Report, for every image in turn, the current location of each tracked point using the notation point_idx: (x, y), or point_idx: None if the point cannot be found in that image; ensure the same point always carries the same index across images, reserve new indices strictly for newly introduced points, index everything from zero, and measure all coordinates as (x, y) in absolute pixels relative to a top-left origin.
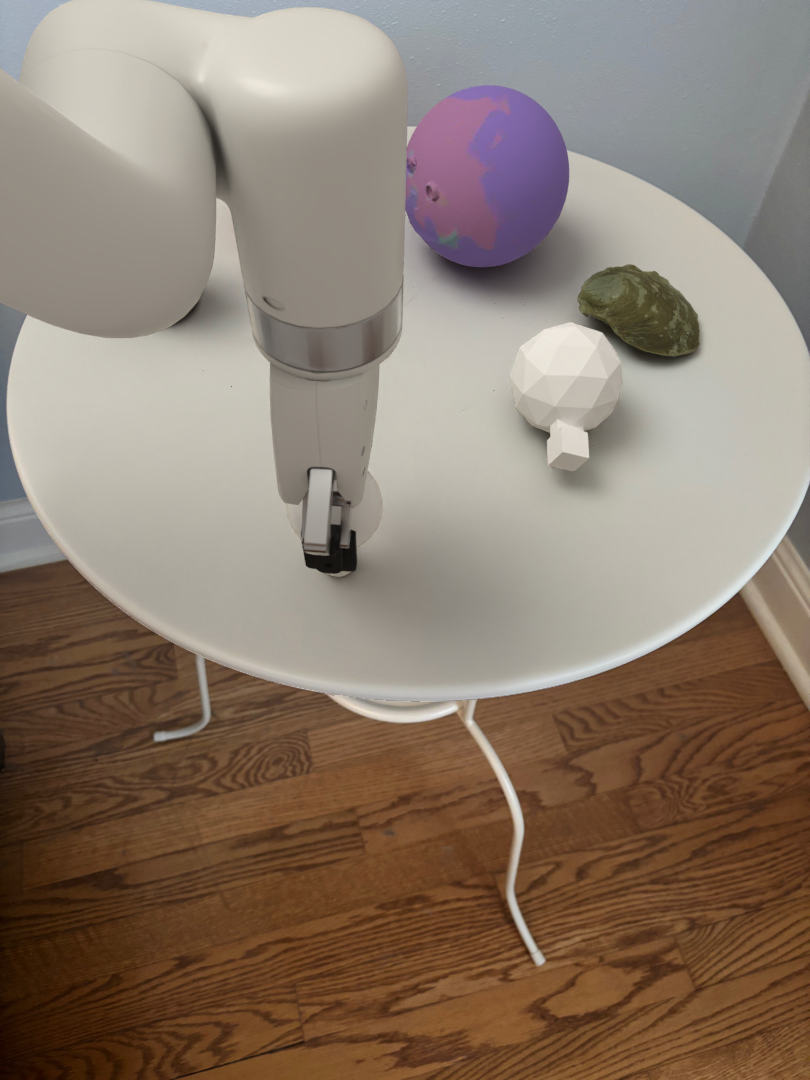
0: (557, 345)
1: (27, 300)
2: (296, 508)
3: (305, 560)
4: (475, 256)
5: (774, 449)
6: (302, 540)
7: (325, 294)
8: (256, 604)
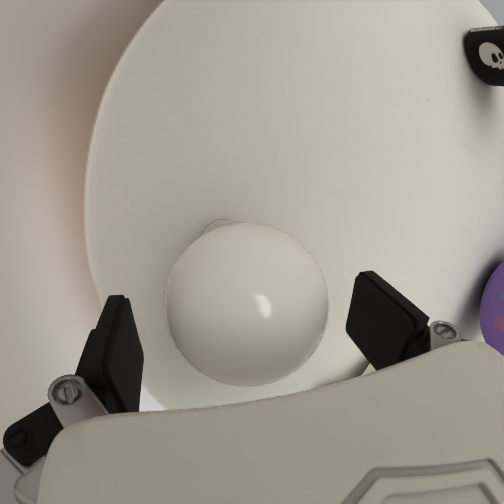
0: None
1: None
2: (204, 279)
3: (105, 305)
4: (492, 307)
5: None
6: (49, 396)
7: None
8: (156, 153)
